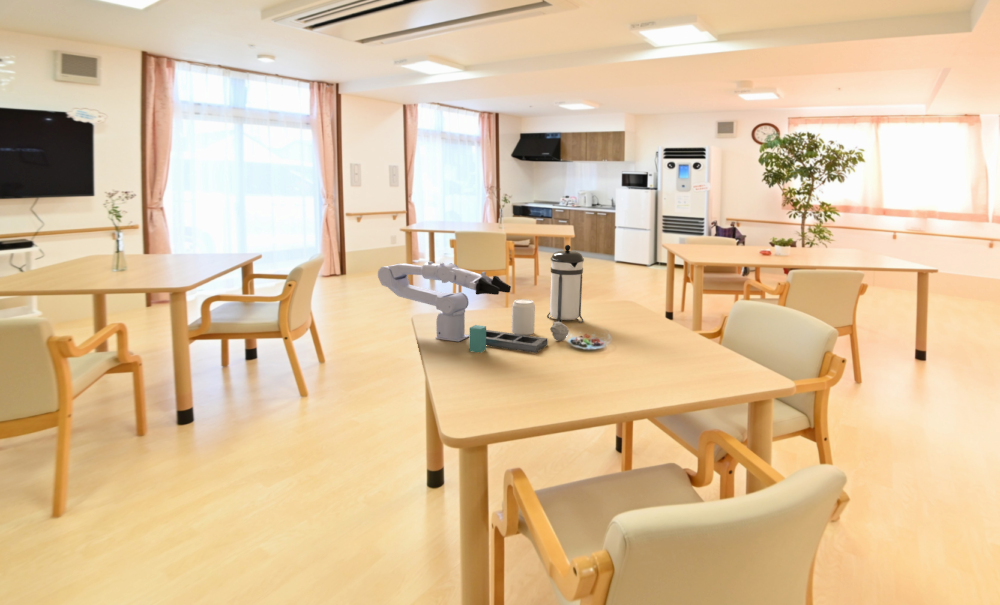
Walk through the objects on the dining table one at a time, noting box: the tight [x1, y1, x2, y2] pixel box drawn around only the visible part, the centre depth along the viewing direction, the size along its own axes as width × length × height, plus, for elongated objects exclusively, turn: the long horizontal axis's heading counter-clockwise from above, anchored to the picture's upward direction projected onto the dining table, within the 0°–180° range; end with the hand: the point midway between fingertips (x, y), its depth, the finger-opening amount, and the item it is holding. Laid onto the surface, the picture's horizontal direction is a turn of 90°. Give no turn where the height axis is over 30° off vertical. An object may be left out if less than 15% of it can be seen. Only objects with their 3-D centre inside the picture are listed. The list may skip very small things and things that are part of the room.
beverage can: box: [511, 298, 536, 336], centre depth 217 cm, size 8×8×12 cm
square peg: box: [469, 324, 487, 354], centre depth 197 cm, size 4×4×8 cm
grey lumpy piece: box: [550, 321, 570, 342], centre depth 209 cm, size 6×7×7 cm
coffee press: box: [546, 244, 585, 324], centre depth 236 cm, size 17×16×30 cm
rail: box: [486, 329, 548, 354], centre depth 204 cm, size 24×10×2 cm, turn 65°
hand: (504, 290), depth 197 cm, fingers open, 7 cm apart
